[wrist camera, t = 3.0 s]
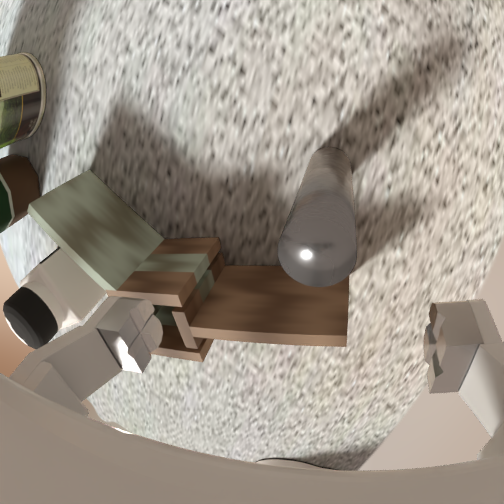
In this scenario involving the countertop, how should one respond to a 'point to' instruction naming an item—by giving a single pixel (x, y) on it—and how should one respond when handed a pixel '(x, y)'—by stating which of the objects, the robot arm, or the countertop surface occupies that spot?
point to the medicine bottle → (51, 299)
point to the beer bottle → (16, 189)
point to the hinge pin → (321, 223)
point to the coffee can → (20, 97)
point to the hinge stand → (186, 277)
